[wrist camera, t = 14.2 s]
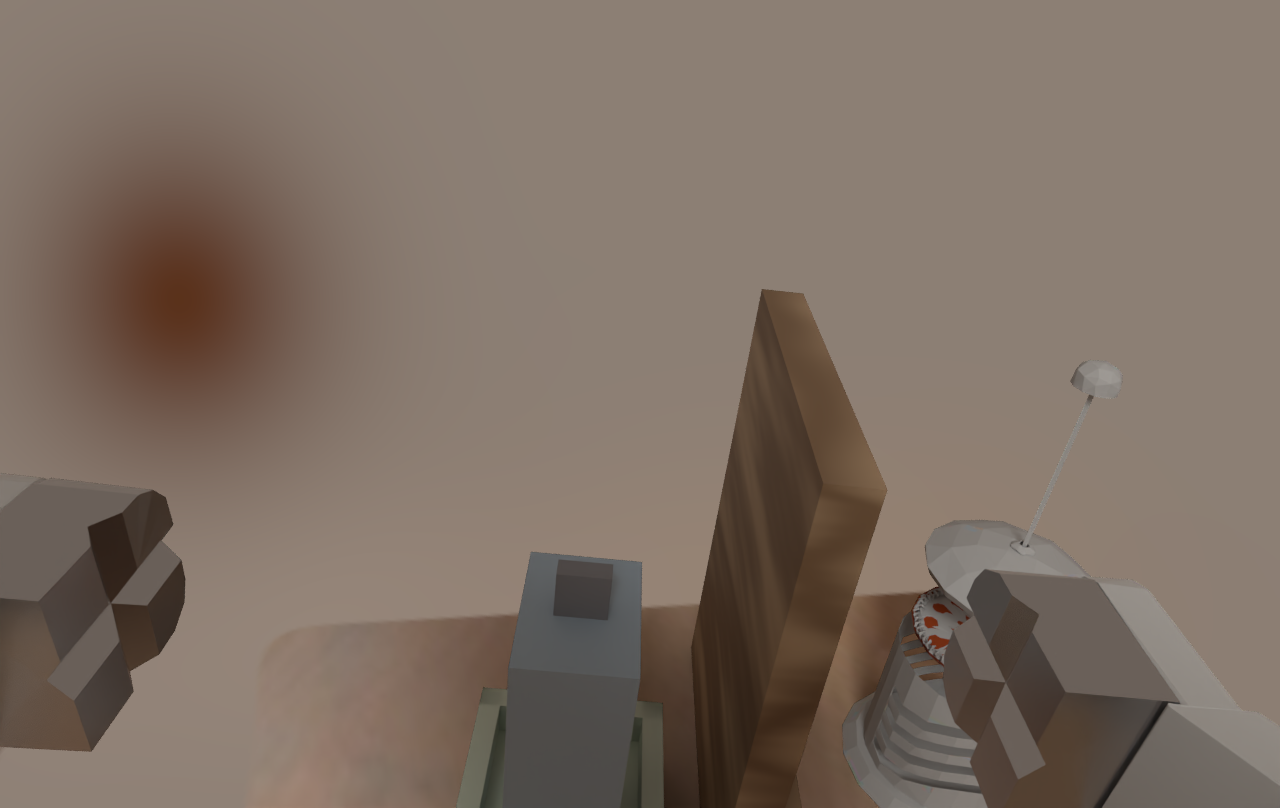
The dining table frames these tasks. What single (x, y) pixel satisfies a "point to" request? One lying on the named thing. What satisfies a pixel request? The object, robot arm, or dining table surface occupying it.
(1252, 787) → the robot arm
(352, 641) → the dining table surface
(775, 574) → the wooden flat block
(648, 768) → the pale green open box
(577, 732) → the grey block with tab
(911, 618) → the french press
